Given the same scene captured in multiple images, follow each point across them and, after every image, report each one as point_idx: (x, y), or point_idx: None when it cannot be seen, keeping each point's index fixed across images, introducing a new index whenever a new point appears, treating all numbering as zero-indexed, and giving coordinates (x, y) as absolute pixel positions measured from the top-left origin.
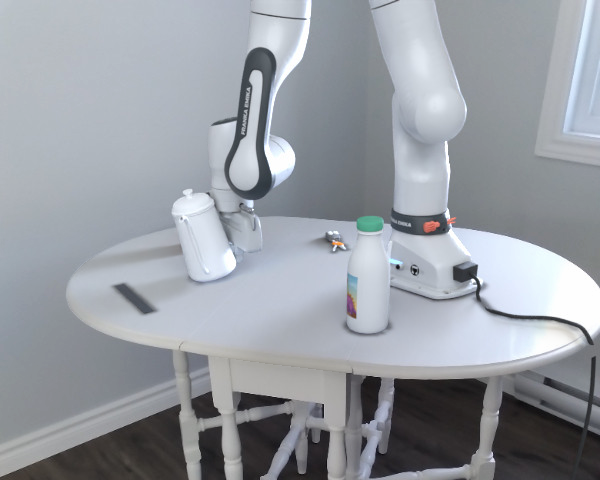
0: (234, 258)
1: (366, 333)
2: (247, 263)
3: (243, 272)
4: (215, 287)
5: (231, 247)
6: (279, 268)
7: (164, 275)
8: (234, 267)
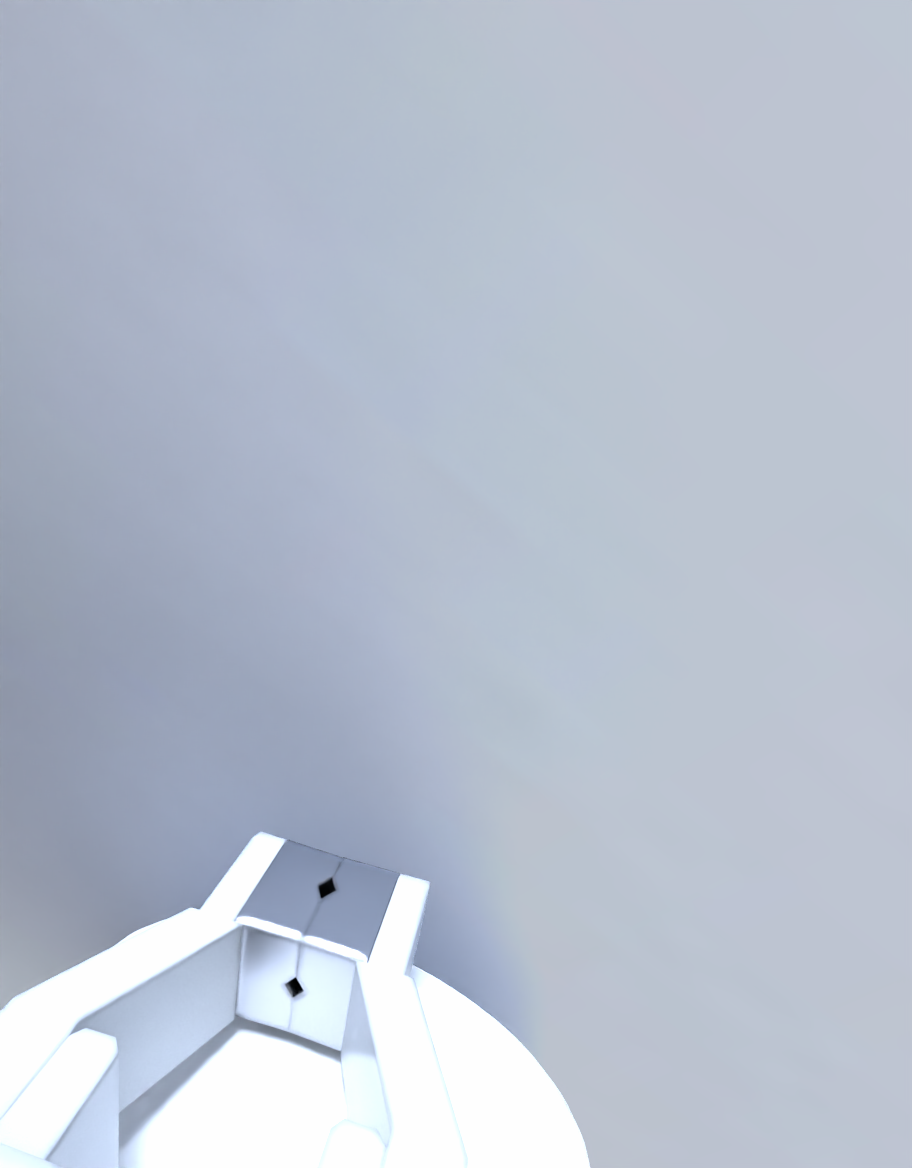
0: (462, 1133)
1: None
2: (249, 572)
3: (464, 789)
4: None
5: (151, 1069)
6: (728, 396)
7: None
8: (546, 1081)
